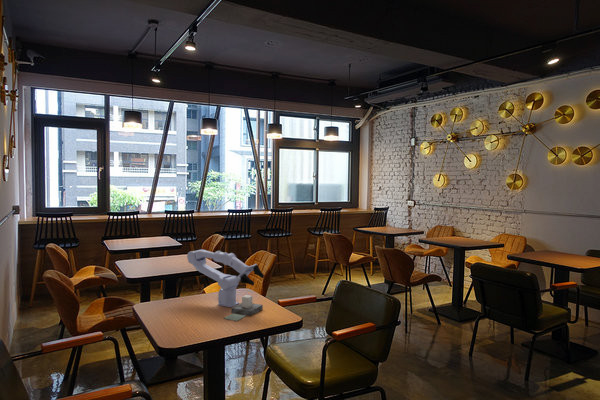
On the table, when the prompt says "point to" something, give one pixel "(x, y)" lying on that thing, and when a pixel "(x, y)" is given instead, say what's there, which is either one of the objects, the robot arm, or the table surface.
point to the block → (247, 301)
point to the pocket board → (247, 309)
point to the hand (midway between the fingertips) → (258, 280)
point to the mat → (235, 317)
